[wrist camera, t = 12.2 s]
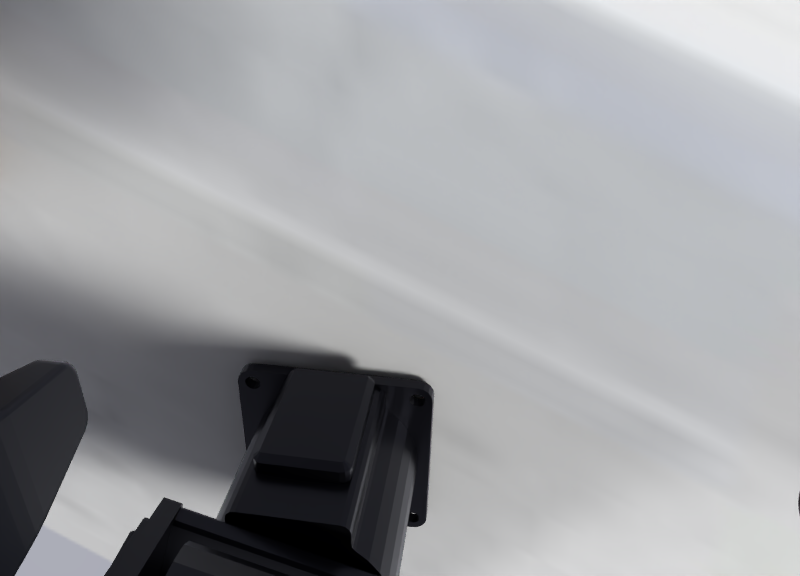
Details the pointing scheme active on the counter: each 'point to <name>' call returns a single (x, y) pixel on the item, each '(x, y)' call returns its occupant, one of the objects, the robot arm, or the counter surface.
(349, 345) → the counter surface
